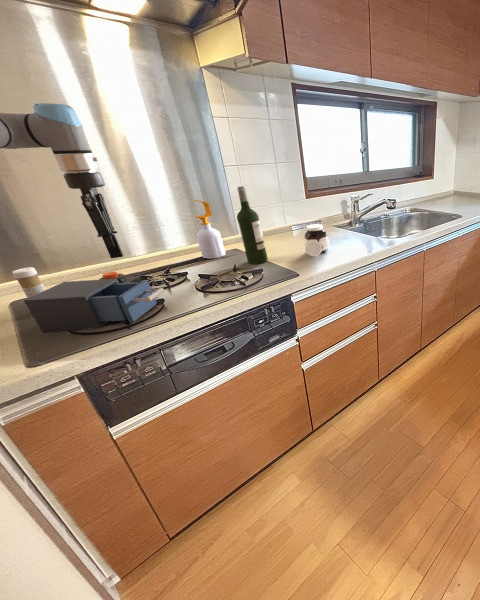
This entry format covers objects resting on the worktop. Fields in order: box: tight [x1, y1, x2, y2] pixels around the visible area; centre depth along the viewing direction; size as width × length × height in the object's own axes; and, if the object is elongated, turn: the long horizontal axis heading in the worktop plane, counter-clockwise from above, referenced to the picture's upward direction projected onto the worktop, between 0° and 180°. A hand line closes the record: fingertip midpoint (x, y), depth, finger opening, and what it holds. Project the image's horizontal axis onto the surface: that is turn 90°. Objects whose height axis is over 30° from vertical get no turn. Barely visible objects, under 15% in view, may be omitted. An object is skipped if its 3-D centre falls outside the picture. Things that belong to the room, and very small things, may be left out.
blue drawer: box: [88, 279, 165, 323], centre depth 92 cm, size 18×11×8 cm, turn 96°
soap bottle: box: [192, 199, 226, 260], centre depth 139 cm, size 9×9×25 cm
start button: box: [101, 271, 119, 279], centre depth 112 cm, size 4×4×2 cm
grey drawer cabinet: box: [23, 279, 119, 333], centre depth 91 cm, size 15×13×10 cm
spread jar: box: [303, 223, 330, 257], centre depth 143 cm, size 12×11×12 cm
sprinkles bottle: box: [11, 266, 47, 299], centre depth 96 cm, size 5×5×14 cm
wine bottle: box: [236, 185, 268, 265], centre depth 130 cm, size 8×8×30 cm
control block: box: [98, 273, 143, 284], centre depth 113 cm, size 12×10×4 cm
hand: (117, 256), depth 96 cm, fingers closed
